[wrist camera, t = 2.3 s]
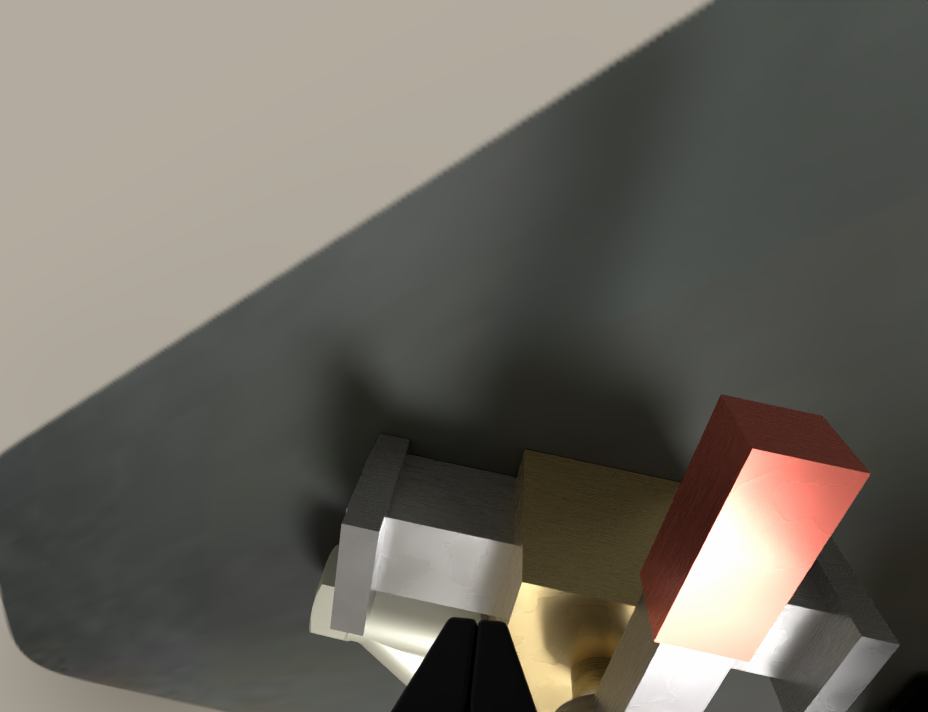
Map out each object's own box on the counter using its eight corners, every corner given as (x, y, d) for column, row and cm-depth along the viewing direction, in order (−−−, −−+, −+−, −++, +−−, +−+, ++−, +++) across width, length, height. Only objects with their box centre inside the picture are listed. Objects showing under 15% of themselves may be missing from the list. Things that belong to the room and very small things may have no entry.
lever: (644, 772, 17) (655, 846, 15) (537, 749, 17) (538, 820, 15) (852, 422, 11) (906, 480, 10) (691, 388, 11) (717, 441, 10)
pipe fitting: (486, 654, 28) (520, 568, 25) (479, 739, 25) (516, 654, 22) (329, 617, 28) (340, 526, 25) (301, 697, 25) (309, 605, 22)
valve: (839, 516, 22) (989, 734, 15) (768, 627, 25) (865, 853, 17) (376, 417, 22) (301, 583, 15) (360, 538, 25) (291, 726, 18)
